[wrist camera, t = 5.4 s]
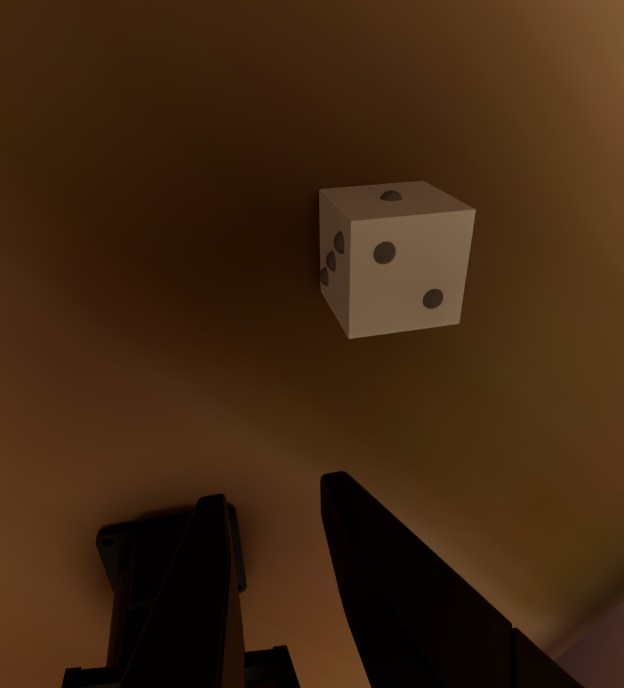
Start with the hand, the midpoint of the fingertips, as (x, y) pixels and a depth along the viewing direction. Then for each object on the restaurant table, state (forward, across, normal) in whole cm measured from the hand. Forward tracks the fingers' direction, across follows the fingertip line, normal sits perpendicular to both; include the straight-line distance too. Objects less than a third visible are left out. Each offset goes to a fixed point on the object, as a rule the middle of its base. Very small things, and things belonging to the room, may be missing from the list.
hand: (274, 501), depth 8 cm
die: (+12, -6, 0) cm, 13 cm away
